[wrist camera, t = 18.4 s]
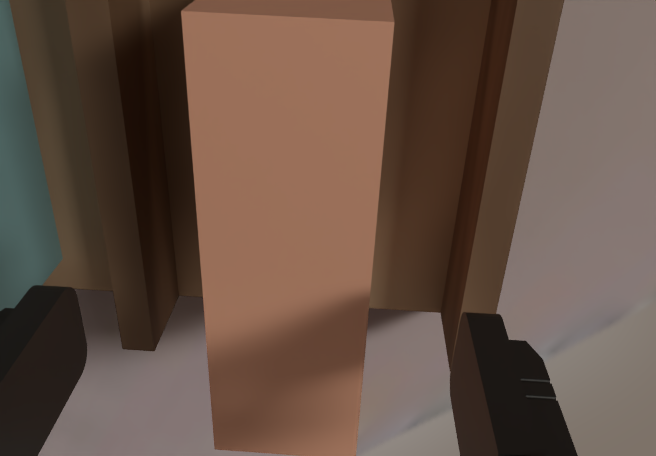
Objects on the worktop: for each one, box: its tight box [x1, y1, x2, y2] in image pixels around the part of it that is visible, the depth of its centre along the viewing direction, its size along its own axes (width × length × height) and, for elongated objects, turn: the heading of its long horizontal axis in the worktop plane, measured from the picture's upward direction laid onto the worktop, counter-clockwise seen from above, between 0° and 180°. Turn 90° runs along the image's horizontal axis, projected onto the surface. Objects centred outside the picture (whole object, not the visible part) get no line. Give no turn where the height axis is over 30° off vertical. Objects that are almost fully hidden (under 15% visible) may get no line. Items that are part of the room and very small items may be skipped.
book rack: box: [9, 0, 564, 371], centre depth 22 cm, size 26×15×5 cm, turn 88°
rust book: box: [181, 0, 394, 456], centre depth 19 cm, size 4×12×9 cm, turn 178°
